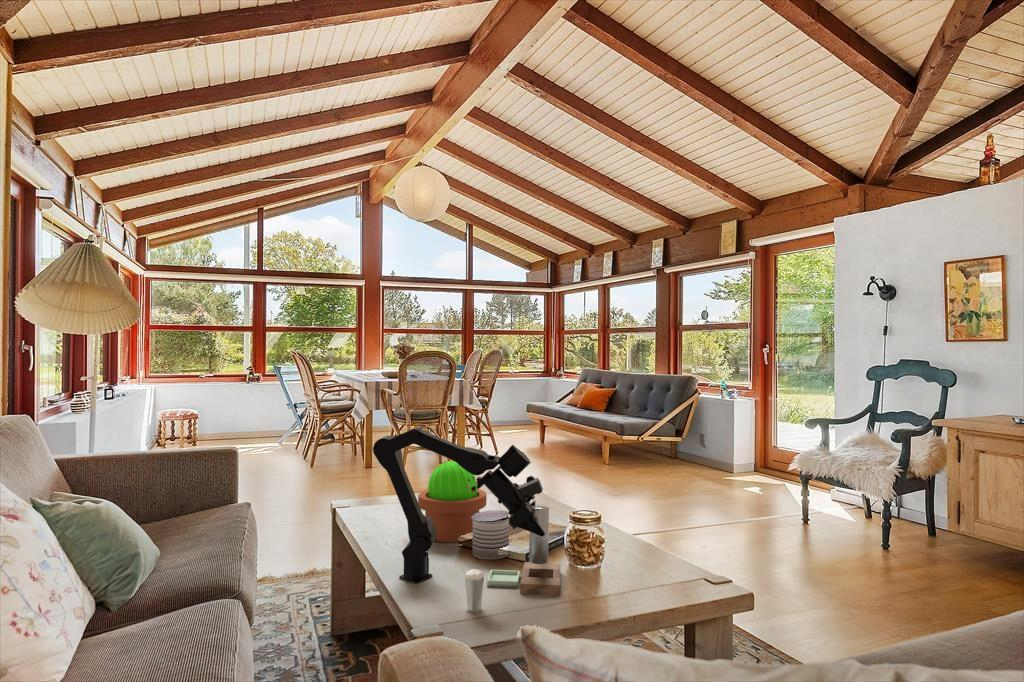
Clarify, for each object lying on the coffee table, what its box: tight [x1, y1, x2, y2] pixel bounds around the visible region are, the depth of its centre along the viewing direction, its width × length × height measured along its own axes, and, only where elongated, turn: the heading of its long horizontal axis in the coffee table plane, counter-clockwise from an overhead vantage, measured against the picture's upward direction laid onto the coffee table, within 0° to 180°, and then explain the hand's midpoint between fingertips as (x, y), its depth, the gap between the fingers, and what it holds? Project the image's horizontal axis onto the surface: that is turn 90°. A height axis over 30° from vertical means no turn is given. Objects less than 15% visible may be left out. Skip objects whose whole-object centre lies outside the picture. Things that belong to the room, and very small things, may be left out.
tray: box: [486, 569, 521, 588], centre depth 168 cm, size 8×8×2 cm
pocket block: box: [519, 561, 561, 596], centre depth 167 cm, size 10×16×2 cm, turn 175°
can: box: [471, 509, 510, 561], centre depth 191 cm, size 11×11×12 cm
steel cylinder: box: [528, 505, 550, 564], centre depth 167 cm, size 5×5×14 cm
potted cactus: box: [417, 460, 487, 544], centre depth 209 cm, size 22×22×25 cm
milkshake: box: [461, 568, 485, 613], centre depth 150 cm, size 4×5×10 cm
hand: (544, 532), depth 167 cm, fingers closed on steel cylinder, 5 cm apart
